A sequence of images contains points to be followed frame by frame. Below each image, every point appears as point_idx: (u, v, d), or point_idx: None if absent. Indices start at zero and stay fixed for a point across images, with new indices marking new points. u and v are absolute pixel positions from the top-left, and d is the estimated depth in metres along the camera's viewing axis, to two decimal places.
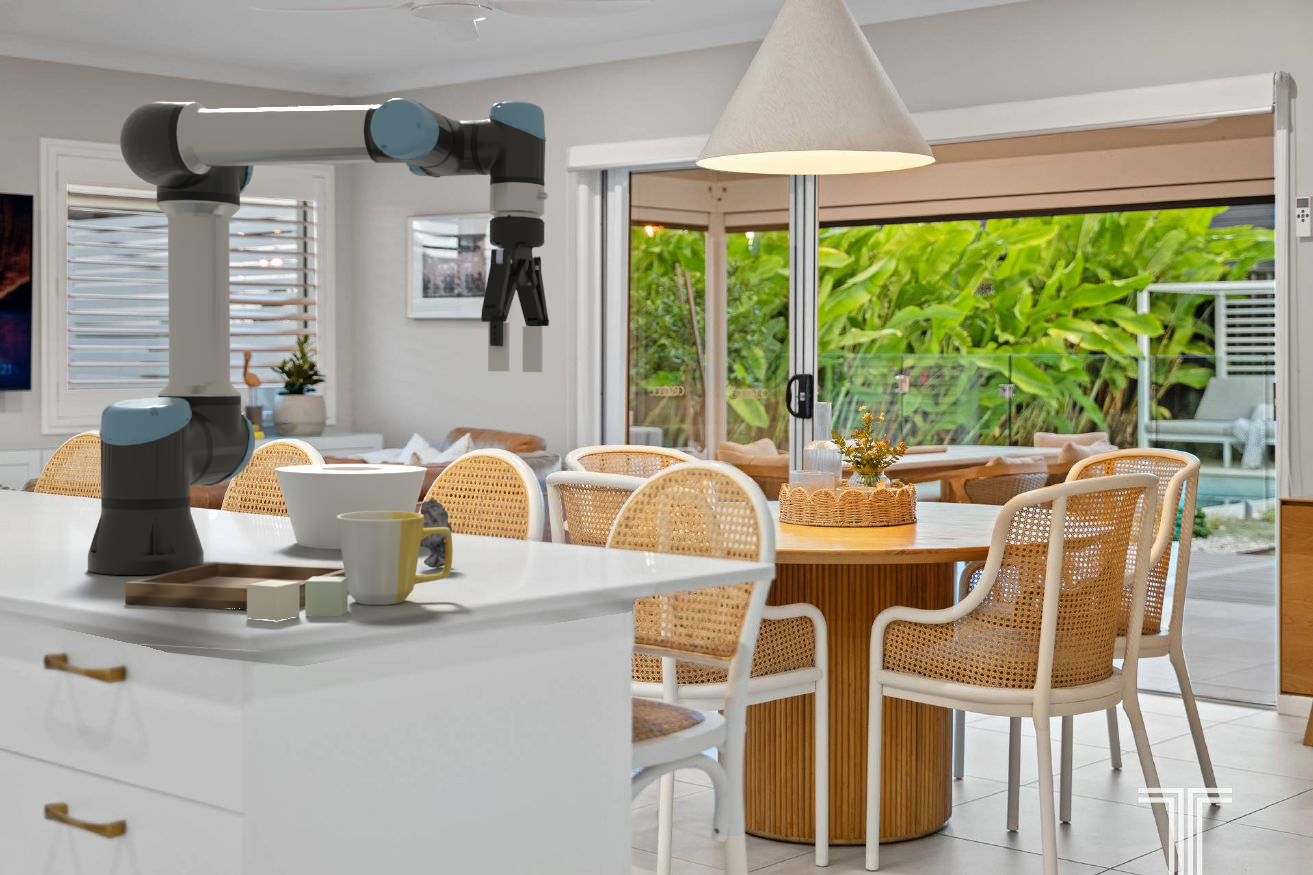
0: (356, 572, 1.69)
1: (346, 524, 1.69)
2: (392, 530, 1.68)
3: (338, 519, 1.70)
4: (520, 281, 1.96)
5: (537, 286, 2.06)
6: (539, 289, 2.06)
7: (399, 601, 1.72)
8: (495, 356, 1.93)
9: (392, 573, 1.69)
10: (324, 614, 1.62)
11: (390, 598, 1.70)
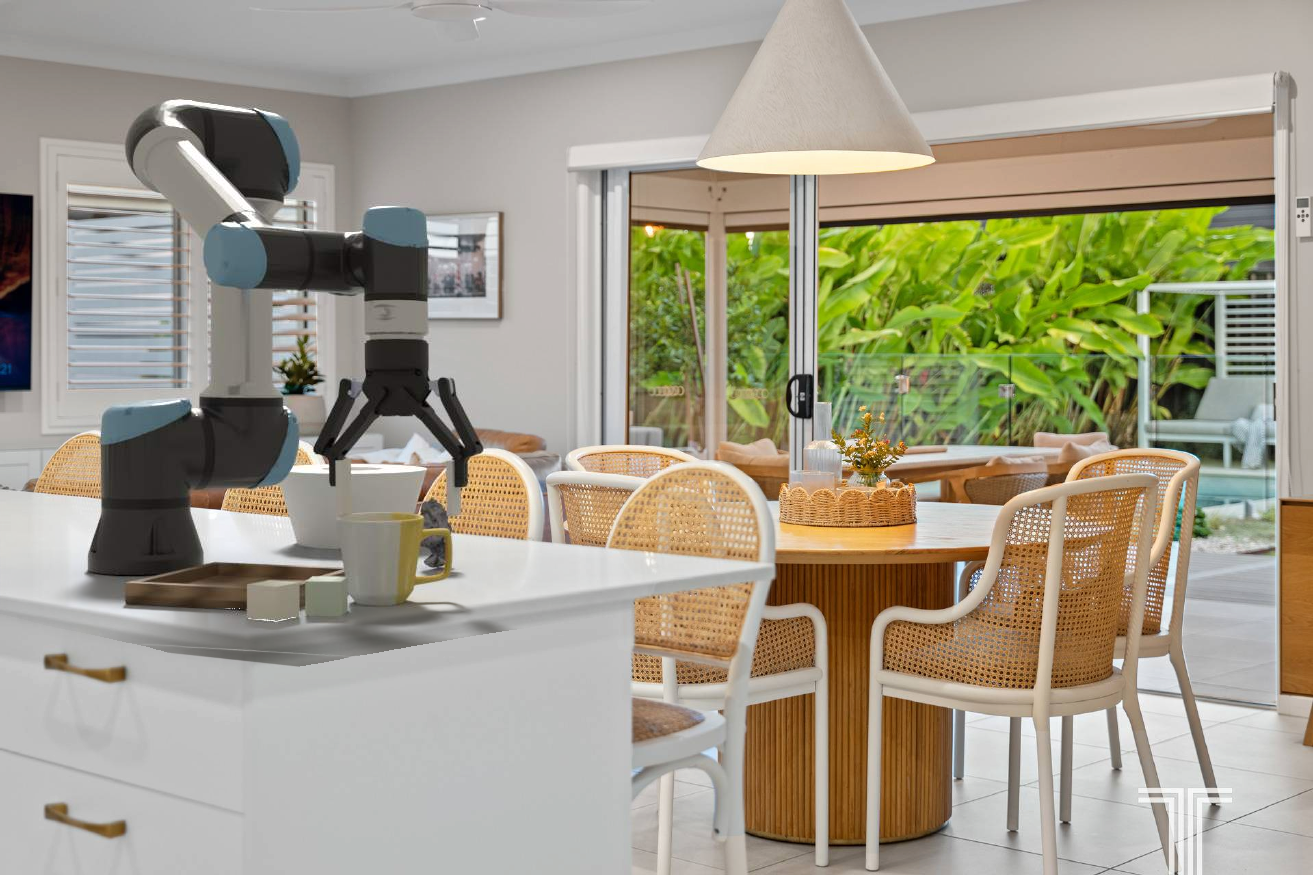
0: (356, 573, 1.69)
1: (346, 525, 1.69)
2: (392, 532, 1.68)
3: (338, 520, 1.70)
4: (365, 413, 1.71)
5: None
6: (449, 416, 1.70)
7: (399, 602, 1.72)
8: None
9: (392, 574, 1.69)
10: (324, 614, 1.62)
11: (390, 600, 1.70)
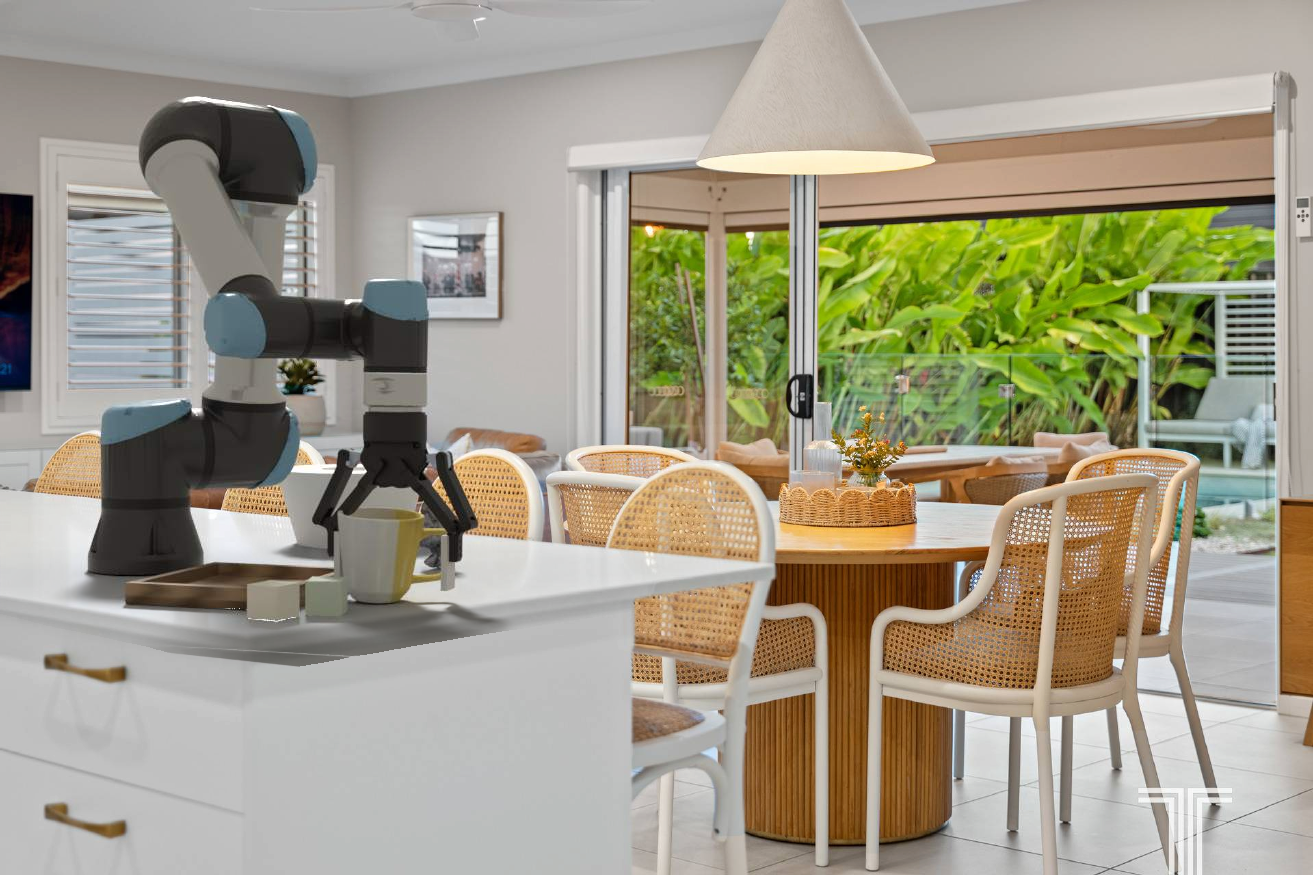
0: (352, 569, 1.70)
1: (345, 520, 1.69)
2: (390, 530, 1.68)
3: (338, 515, 1.71)
4: (363, 485, 1.72)
5: None
6: (445, 490, 1.70)
7: (394, 600, 1.72)
8: None
9: (388, 572, 1.69)
10: (324, 614, 1.62)
11: (385, 597, 1.70)
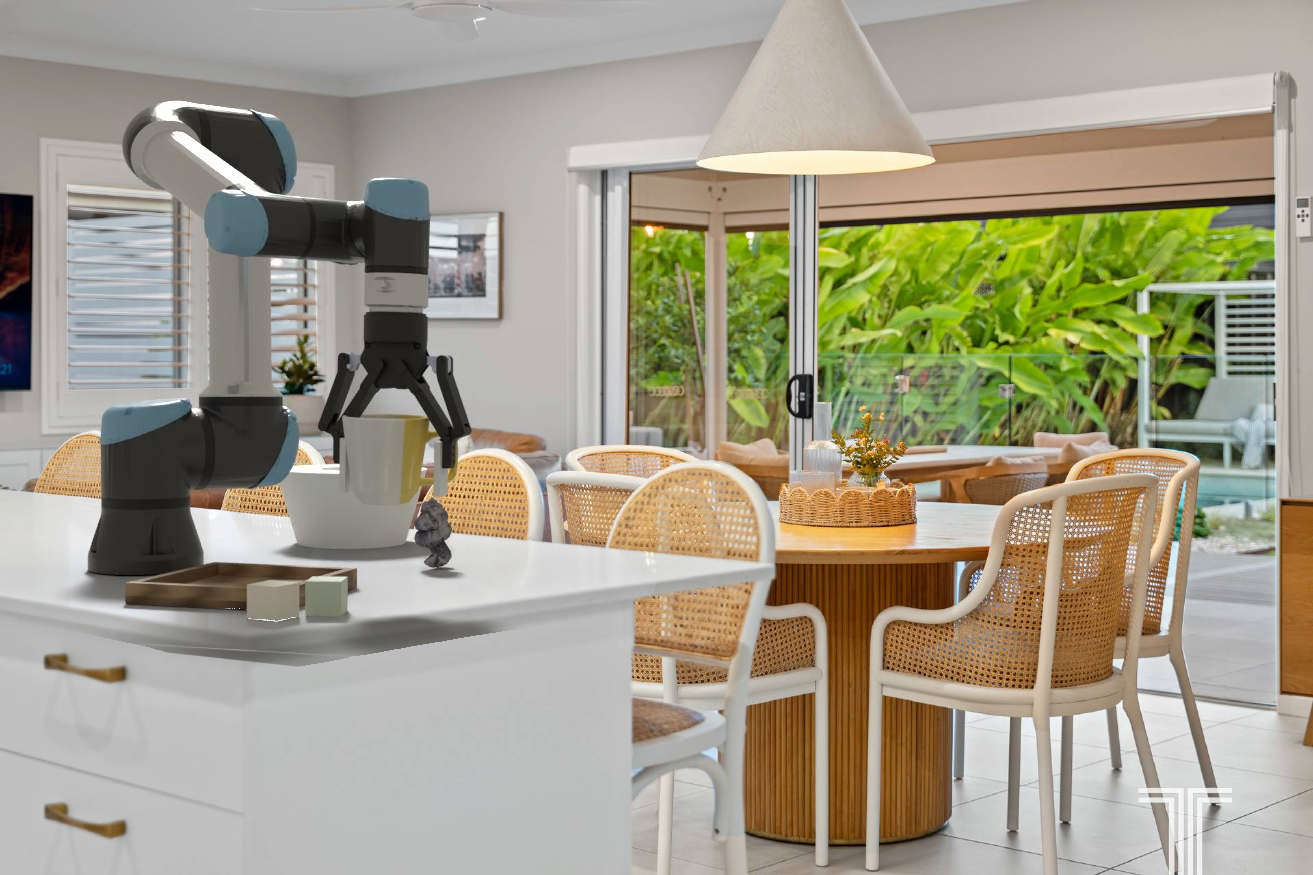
0: (360, 471, 1.69)
1: (350, 422, 1.69)
2: (395, 430, 1.68)
3: (343, 418, 1.70)
4: (366, 387, 1.71)
5: None
6: (442, 394, 1.70)
7: (403, 502, 1.71)
8: None
9: (395, 472, 1.69)
10: (324, 614, 1.62)
11: (393, 498, 1.70)
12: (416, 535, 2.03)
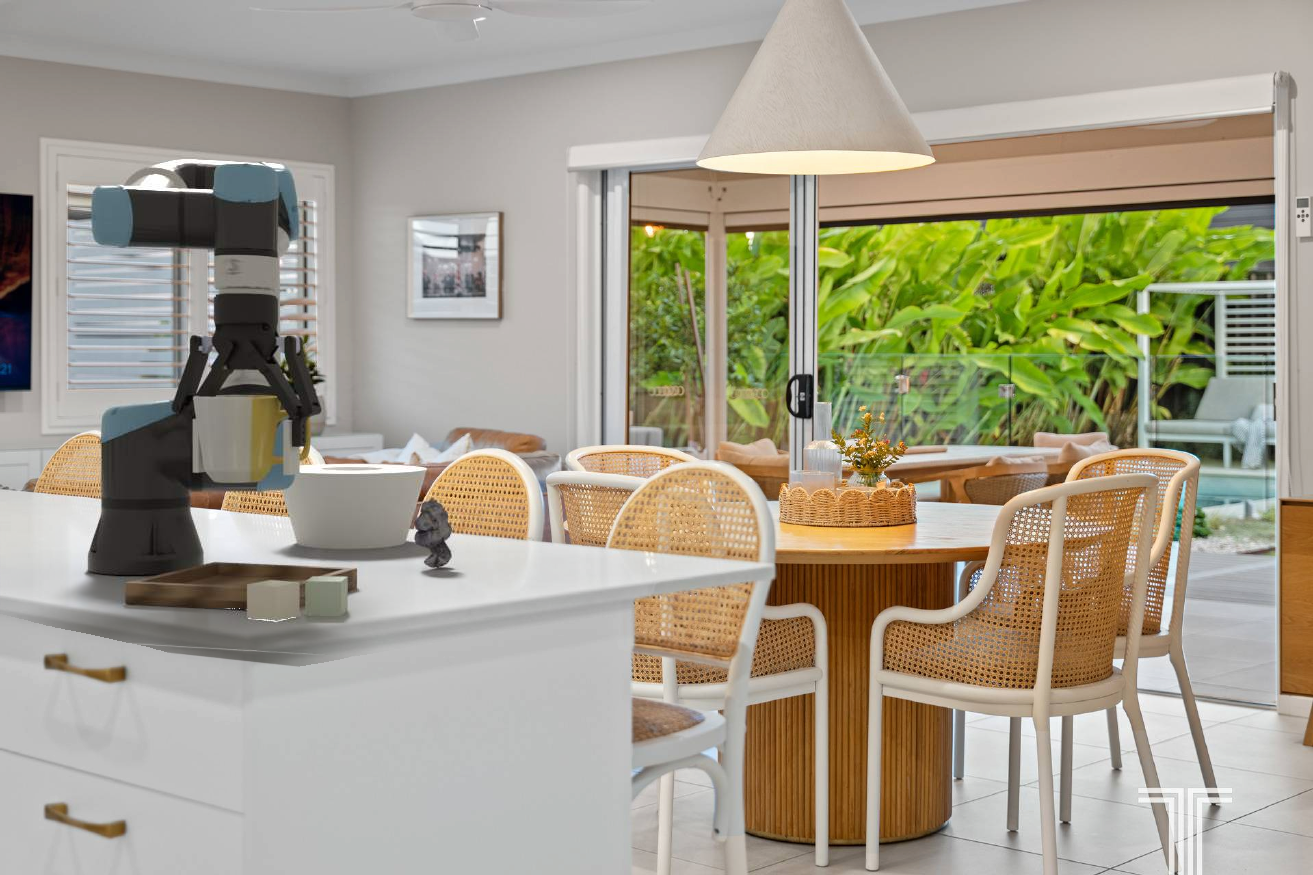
0: (209, 449, 1.72)
1: (199, 402, 1.72)
2: (243, 408, 1.71)
3: (193, 398, 1.73)
4: (217, 368, 1.74)
5: None
6: (291, 374, 1.73)
7: (254, 480, 1.74)
8: None
9: (244, 450, 1.72)
10: (324, 614, 1.62)
11: (243, 476, 1.73)
12: (416, 535, 2.03)
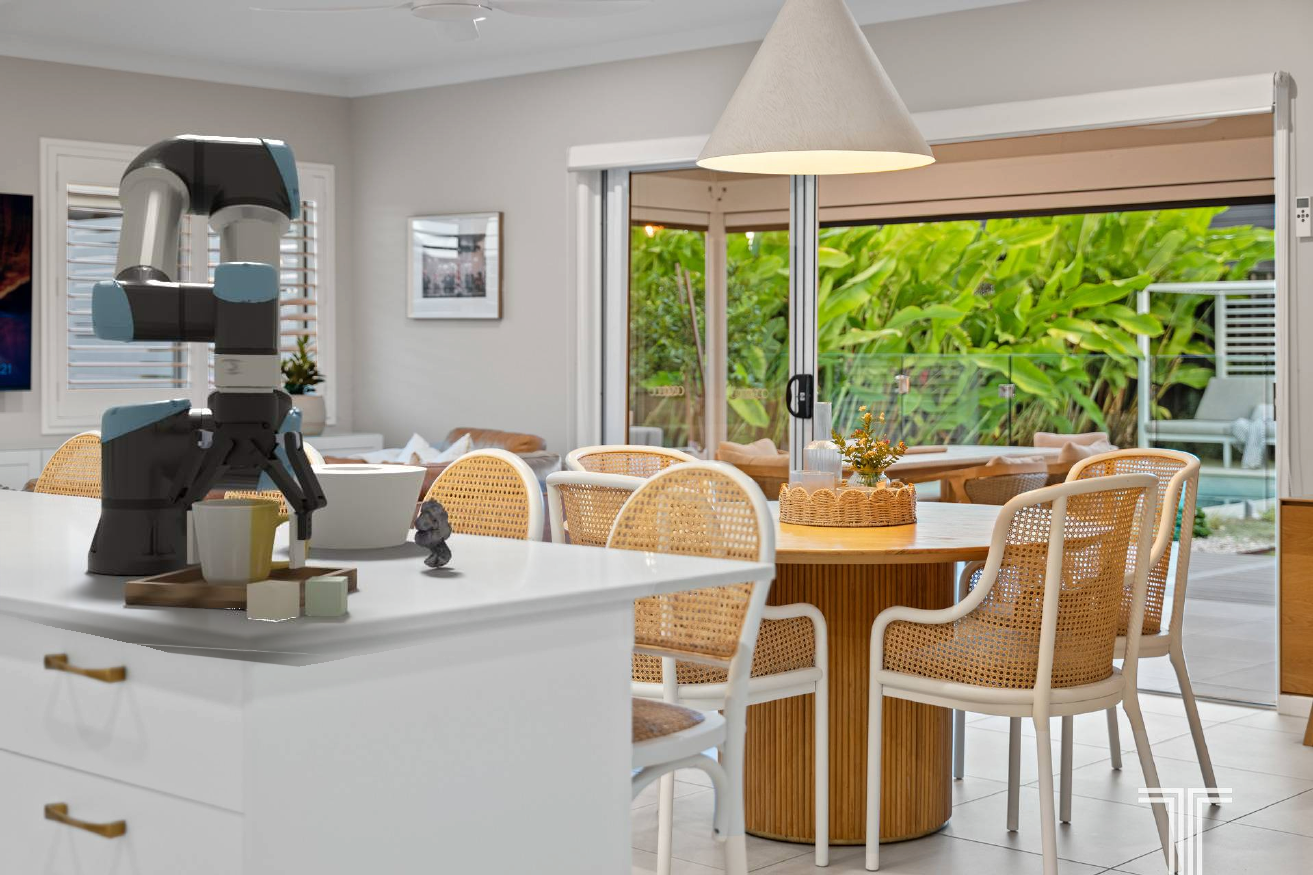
0: (209, 558, 1.73)
1: (198, 510, 1.72)
2: (242, 517, 1.72)
3: (192, 506, 1.74)
4: (215, 464, 1.75)
5: None
6: (293, 470, 1.73)
7: None
8: None
9: (244, 558, 1.73)
10: (324, 614, 1.62)
11: (243, 584, 1.74)
12: (416, 535, 2.03)
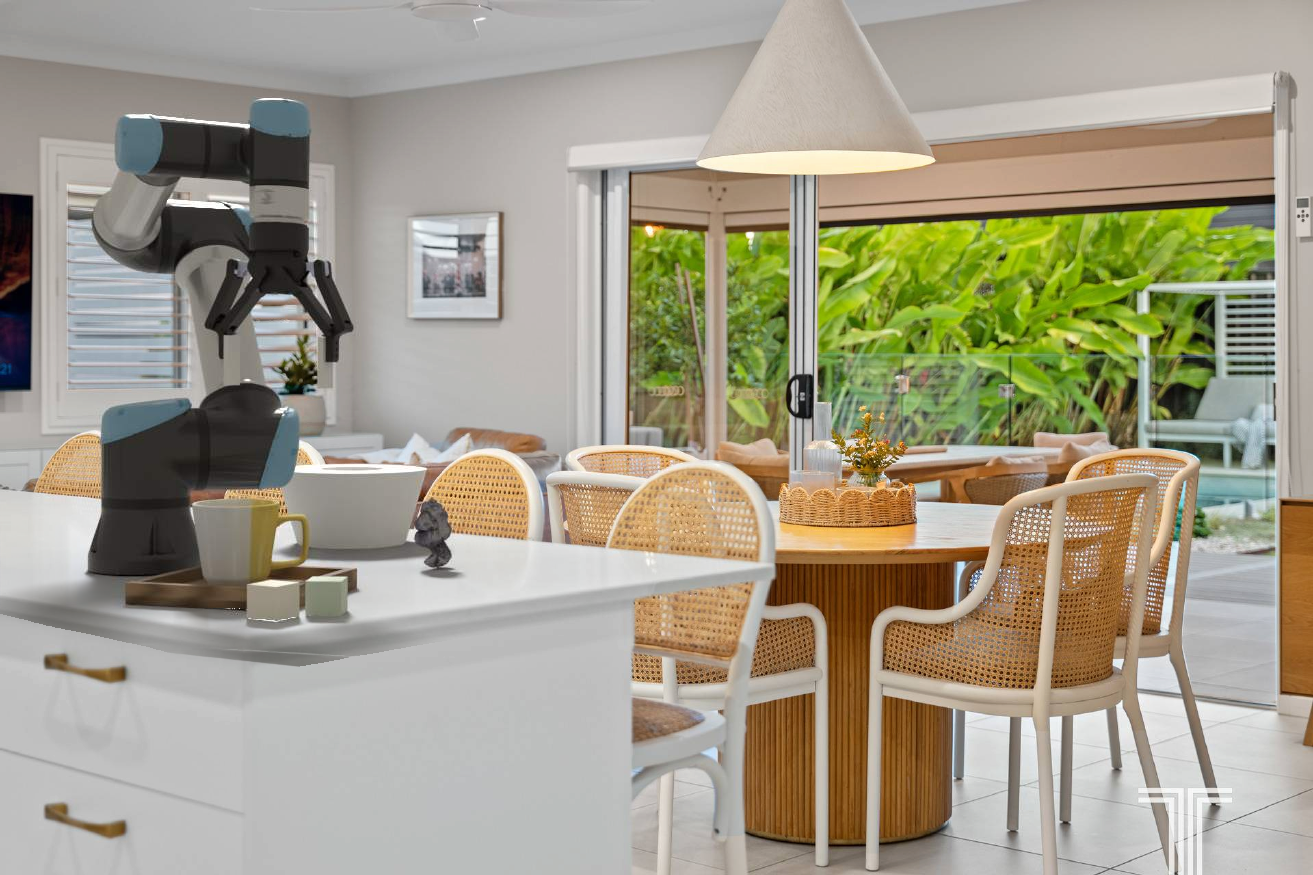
0: (209, 558, 1.73)
1: (198, 510, 1.72)
2: (242, 517, 1.72)
3: (192, 506, 1.74)
4: (249, 291, 1.86)
5: None
6: (322, 295, 1.84)
7: None
8: None
9: (244, 558, 1.73)
10: (324, 614, 1.62)
11: (243, 584, 1.74)
12: (416, 535, 2.03)
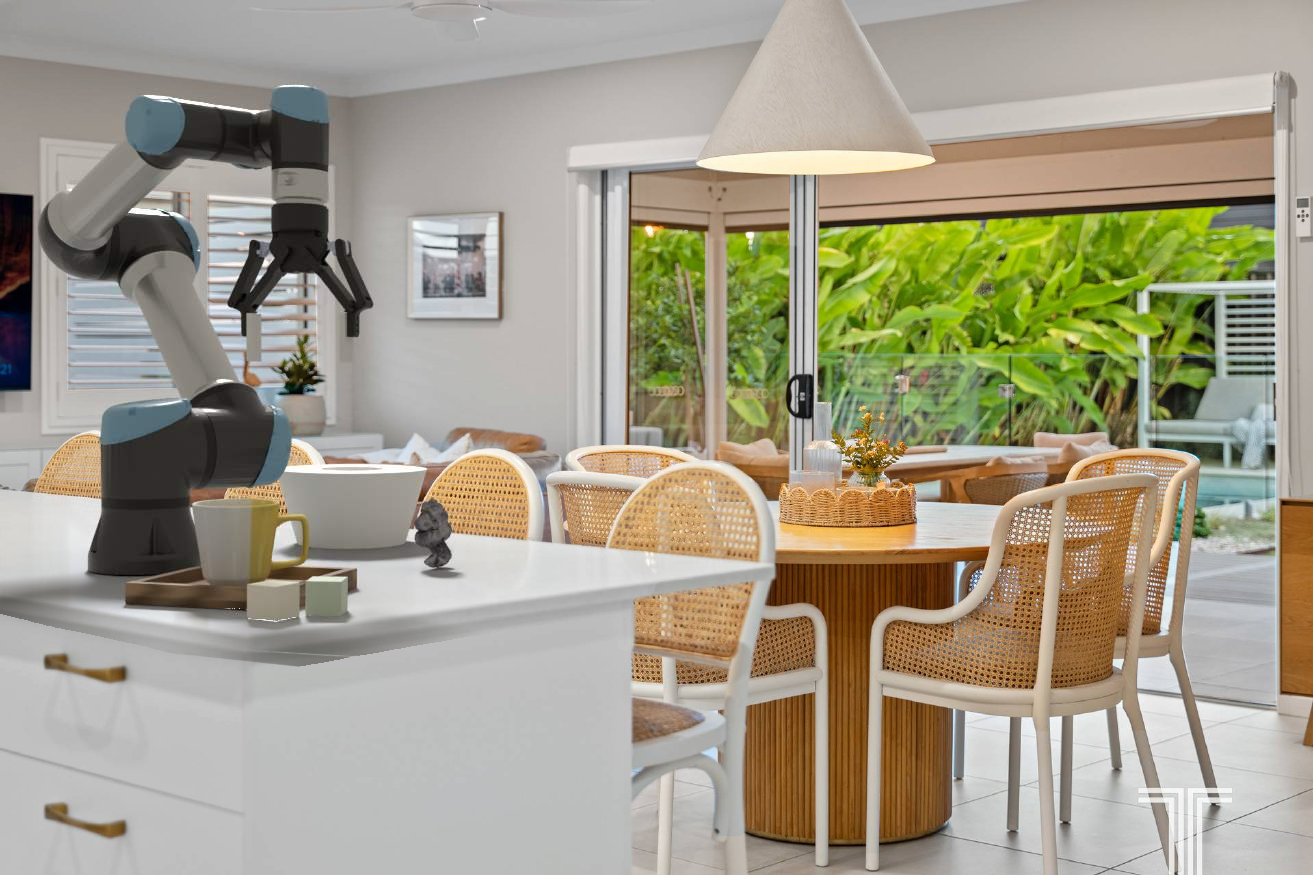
0: (209, 558, 1.73)
1: (198, 510, 1.72)
2: (242, 517, 1.72)
3: (192, 506, 1.74)
4: (272, 270, 1.94)
5: None
6: (343, 273, 1.92)
7: None
8: None
9: (244, 558, 1.73)
10: (324, 614, 1.62)
11: (243, 584, 1.74)
12: (416, 535, 2.03)
